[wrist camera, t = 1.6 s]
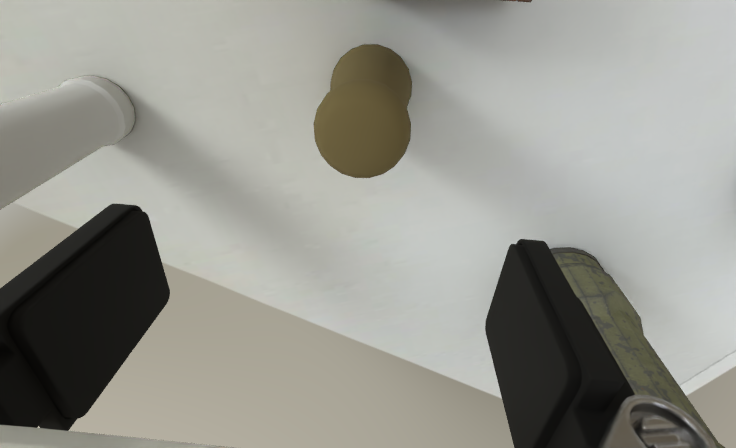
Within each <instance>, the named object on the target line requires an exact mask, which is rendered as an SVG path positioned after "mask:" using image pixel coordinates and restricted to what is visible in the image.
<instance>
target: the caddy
mask: <svg viewBox="0 0 736 448" xmlns="http://www.w3.org/2000/svg"><path fill="white" fill-rule="evenodd" d="M503 1H518V2H531V1H532V0H503Z"/></svg>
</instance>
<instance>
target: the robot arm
mask: <svg viewBox="0 0 736 448" xmlns="http://www.w3.org/2000/svg"><path fill="white" fill-rule="evenodd" d="M169 295H170V290H169V286H168V283H167V279H166V276H165V273H164V269H163V266H162V262H161V258H160V255H159V252H158V248H157V245H156V241H155V238H154V234H153V231H152V227H151V224H150V221H149V217H148V215H147V214H146V213H145V212H142V210H141V208H140V207H138V206H136V205H124V204H111V205H109V206H108V207H107V208H105V209H104V210H103V211H101V212H100V213H99V214H97V215H96V216H95V217H93V218H92V219H91V220H89V221H88V222H87V223H86V224H84V225H83V226H82V227H80V228H79V229H78V230H77V231H75V232H74V233H72V234H71V235H70V236H69V237H67V238H66V239H65V240H63V241H62V242H61V243H59V244H58V245H57V246H55V247H54V248H53V249H51V250H50V251H49V252H48V253H46V254H45V255H44V256H42V257H41V258H40V259H38V260H37V261H36V262H34V263H33V264H32V265H31V266H29V267H28V268H27V269H25V270H24V271H23V272H21V273H20V274H19V275H18V276H16V277H15V278H13V279H12V280H11V281H9V282H8V283H7V284H5V285H4V286H3V287H2V288H0V448H233V447H224V446H214V445H204V444H195V443H184V442H175V441H164V440H156V439H145V438H135V437H124V436H114V435H105V434H94V433H85V432H74V431H68V430H69V429H70V427H71V426H72V425H73V424H74V422H75V421H76V420H77V418H81V417H83V416H84V415H85V414H86V413H87V412H88V411H89V409H90V408H91V406H92V405H93V404H94V402H95V401H96V400H97V398H98V397H99V396H100V394H101V393H102V392H103V390H104V389H105V387H106V386H107V385H108V383H109V382H110V381H111V379H112V378H113V376H114V375H115V373H116V372H117V371H118V370H119V368H120V367H121V365H122V364H123V363H124V361H125V360H126V358H127V357H128V356H129V354H130V353H131V352H132V350H133V349H134V348H135V346H136V345H137V343H138V342H139V341H140V339H141V338H142V337H143V335H144V334H145V333H146V331H147V330H148V328H149V327H150V326H151V324H152V323H153V321H154V320H155V319H156V317H157V316H158V315H159V313H160V312H161V311H162V309H163V308H164V306H165V305H166V304H167V302H168V299H169ZM485 329H486V335H487V339H488V343H489V347H490V351H491V355H492V359H493V363H494V367H495V371H496V375H497V379H498V383H499V388H500V392H501V396H502V400H503V403H504V408H505V412H506V415H507V420H508V424H509V427H510V432H511V436H512V440H513V444H514V447H515V448H717V447H716V445H715V443H714V441H713V439H712V438H711V437H710V435H709V434H708V433H707V432H706V430H705V429H704V428H703V427H702V426H701V425H700V424H699V423H698V422H697V421H696V420H695V419H694V418H693V417H691V416H690V415H689V414H687V413H686V412H685V411H683V410H682V409H680V408H679V407H677V406H676V405H674V404H671V403H669V402H667V401H665V400H663V399H661V398H657V397H653V396H650V395H635V393H634V391H633V390H632V388H631V386H630V384H629V383H628V381H627V379H626V378H625V376H624V374H623V372H622V371H621V369H620V367H619V365H618V364H617V362H616V360H615V358H614V357H613V355H612V353H611V351H610V350H609V348H608V346H607V345H606V343H605V341H604V339H603V338H602V336H601V334H600V332H599V331H598V329H597V327H596V325H595V324H594V322H593V320H592V319H591V317H590V315H589V313H588V312H587V310H586V308H585V306H584V305H583V303H582V302H581V300H580V299H579V298H578V297H576V295H575V293H574V291H573V290H572V288H571V286H570V284H569V283H568V281H567V279H566V277H565V275H564V274H563V272H562V270H561V268H560V267H559V265H558V263H557V261H556V260H555V258H554V256H553V254H552V253H551V251H550V249H549V247H548V246H547V244H546V243H545V242H544V241H537V240H525V239H520V240H519V241H518V242H517V244H511V245H510V247H509V249H508V252H507V255H506V258H505V262H504V265H503V268H502V271H501V274H500V277H499V281H498V284H497V287H496V290H495V293H494V296H493V300H492V303H491V306H490V309H489V312H488V315H487V319H486V326H485ZM38 426H39V427H40V428H37V427H38Z"/></svg>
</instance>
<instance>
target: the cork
mask: <svg viewBox="0 0 736 448" xmlns="http://www.w3.org/2000/svg"><path fill="white" fill-rule="evenodd" d="M411 89H412V81H411V77H410V73H409V69H408V68H407V66H406V64H405V63H404V61H403V60H402V58H401V57H400V56H399V55H397V54H396V53H395V52H394V51H392V50H391V49H389V48H386V47H383V46H381V45H378V44H372V45H361V46H359V47H356V48H353V49H351V50H350V51H349V52H347V53H346V54H345V55H344V56H342V57H341V59H340V60H339V62H338V63H337V65H336V67H335V68H334V71H333V75H332V79H331V89H330V92H329V93H327V95H326V96H325V98H324V99H323V101H322V102H321V104H320V106H319V107H318V109H317V112H316V116H315V120H314V133H315V142H316V144H317V146H318V149H319V151H320V154H321V155H322V157H323V158H324V159H325V160H326V161H327V163H328V164H329V165H330V166H331V167H333V168H334V169H336V170H337V171H339V172H340V173H342V174H345V175H348V176H352V177H355V178H371V177H374V176H378V175H381V174H383V173H385V172H387V171H388V170H390V169H391V168H393V167H394V166H395V165H396V164H397V163H398V161H399V160H400V159H401V158H402V156H403V155H404V154H405V151H406V149H407V146H408V144H409V141H410V132H411V122H410V118H409V115H408V111H407V105H408V103H409V100H410V97H411Z"/></svg>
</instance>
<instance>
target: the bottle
mask: <svg viewBox="0 0 736 448" xmlns="http://www.w3.org/2000/svg"><path fill="white" fill-rule="evenodd" d="M134 122H135V112H134V107H133V105H132V103H131V101H130V99H129V97H128V96H127V95H126V94H125V93H124V92H123V91H122V90H121V88H120V87H119V86H117V85H116V84H114V83H112V82H111V81H109V80H107V79H104V78H100V77H96V76H82V77H77V78H72V79H68V80H65V81H64V82H63V83H62V84H60V85H59V86H58V87H57V88H54V89H50V90H47V91H43V92H40V93H36V94H33V95H29V96H26V97H23V98H19V99H16V100H12V101H9V102H5V103H2V104H0V210H1V209H2V208H4V207H5V206H7V205H9V204H10V203H12V202H14V201H15V200H17V199H19V198H20V197H22V196H23V195H25V194H27V193H28V192H30V191H31V190H33V189H35V188H36V187H38V186H40V185H41V184H43V183H44V182H46V181H48V180H49V179H51V178H53V177H54V176H56V175H57V174H59V173H61V172H62V171H64V170H66V169H67V168H69V167H70V166H72V165H74V164H75V163H77V162H79V161H80V160H82V159H83V158H85V157H87V156H88V155H90V154H91V153H93V152H95V151H96V150H98V149H100V148H101V147H103V146H108V145H114V144H116V143H117V142H119V141H120V140H121V139H122V138H124V137H125V136H126V135H127V134H129V133H130V132H131V130H132V128H133V125H134Z"/></svg>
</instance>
